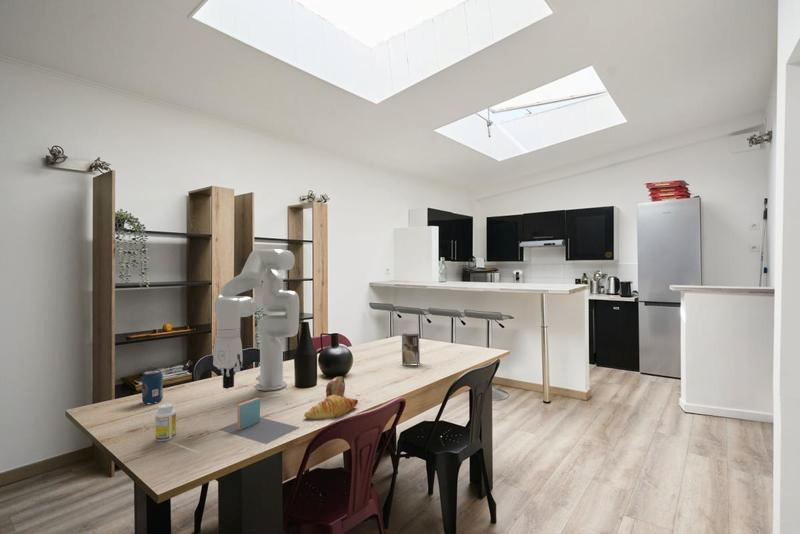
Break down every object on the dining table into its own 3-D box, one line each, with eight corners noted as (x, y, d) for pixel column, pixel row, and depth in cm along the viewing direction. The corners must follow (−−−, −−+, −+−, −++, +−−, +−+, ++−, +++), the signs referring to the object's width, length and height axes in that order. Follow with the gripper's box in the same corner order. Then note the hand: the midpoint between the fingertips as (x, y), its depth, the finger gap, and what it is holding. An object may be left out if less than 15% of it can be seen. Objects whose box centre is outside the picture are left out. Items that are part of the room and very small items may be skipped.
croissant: (308, 433, 137) (313, 415, 134) (297, 412, 144) (301, 395, 141) (361, 417, 151) (366, 400, 148) (348, 398, 158) (352, 382, 155)
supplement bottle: (172, 433, 130) (171, 401, 130) (179, 437, 126) (178, 404, 126) (152, 438, 125) (152, 405, 125) (159, 443, 122) (159, 409, 122)
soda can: (139, 402, 160) (139, 371, 160) (159, 398, 165) (159, 368, 165) (145, 406, 155) (145, 375, 155) (165, 401, 160) (165, 371, 160)
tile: (237, 429, 132) (237, 404, 132) (257, 421, 139) (257, 397, 138) (240, 430, 131) (240, 405, 131) (260, 421, 138) (260, 398, 138)
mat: (218, 430, 132) (218, 429, 132) (254, 416, 144) (254, 415, 144) (266, 444, 121) (266, 443, 121) (299, 428, 133) (299, 427, 133)
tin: (332, 406, 153) (332, 384, 153) (324, 406, 154) (324, 384, 154) (345, 394, 168) (345, 374, 168) (338, 394, 169) (338, 373, 169)
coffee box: (420, 363, 221) (420, 333, 221) (418, 365, 215) (418, 335, 215) (403, 362, 223) (403, 333, 223) (401, 365, 216) (401, 335, 216)
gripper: (205, 333, 140) (204, 387, 140) (233, 336, 133) (233, 393, 132) (224, 331, 147) (224, 382, 146) (252, 333, 139) (252, 387, 139)
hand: (228, 387), depth 139 cm, fingers closed
